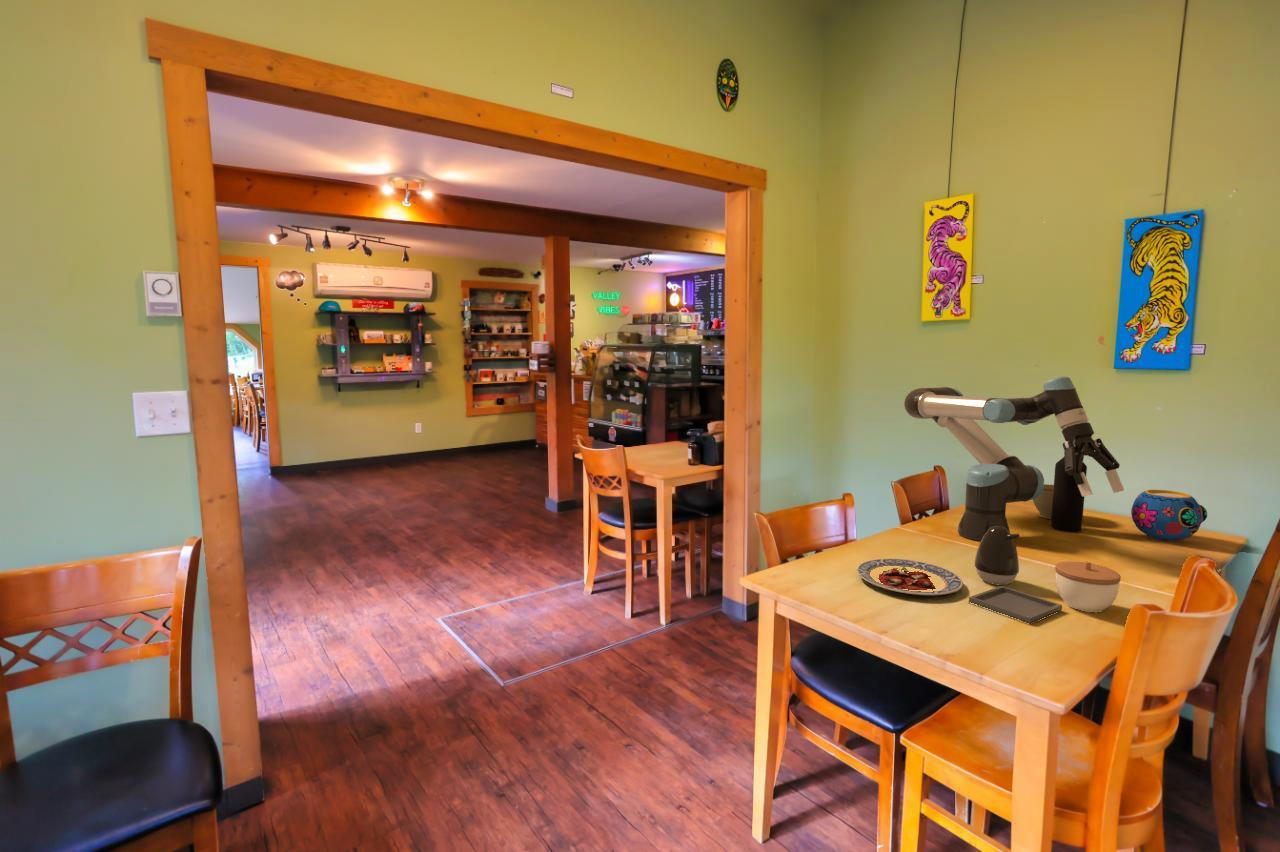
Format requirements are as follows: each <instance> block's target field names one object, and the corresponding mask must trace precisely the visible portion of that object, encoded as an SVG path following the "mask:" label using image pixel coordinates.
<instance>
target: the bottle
mask: <svg viewBox="0 0 1280 852" xmlns="http://www.w3.org/2000/svg"><path fill="white" fill-rule="evenodd" d="M1070 468H1071V467H1070ZM1087 471H1088V466H1087V464H1086V463H1084V461H1083V464H1082V469H1081V472H1080V473H1082V472H1084V474H1085V476H1086V477H1087V473H1088V472H1087ZM1053 477H1054V479H1053V485H1054V489H1053V501H1052V514H1051V519H1050V527H1051V528H1052V529H1054V530H1056V531H1060V532H1064V533H1065V532H1066V533H1081V531H1082V529H1083V519H1084V506H1085V496H1083V497H1082V495H1081V492H1080V490H1079V487H1078V485H1077V484H1076V481H1075V479H1074V476H1073V475H1071V476H1070V475H1068V473H1066V472H1065V456H1063V457H1062V458H1060V459H1059V460H1058V461H1057V462H1056V463H1055V467H1054V476H1053Z"/></svg>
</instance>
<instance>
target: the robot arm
mask: <svg viewBox="0 0 1280 852" xmlns="http://www.w3.org/2000/svg"><path fill="white" fill-rule="evenodd" d="M1071 379H1072V378H1071V377H1068V376H1058V377H1054V378H1051V379H1050V380H1049V379H1048V380H1047V381H1046V382H1044V383H1043V385H1042V386H1043V387H1042V388H1043V391H1042V392H1040V393H1038V394H1035V395H1033V396H1031V397H1016V398H1002V397H999V398H997V397H984V396H983V397H980V396H964V394H963V393H962V392H961V391H960V390H959V389H956V388H954V387H949V386H940V387H919V388H916V389H912V391H909V393H908V394H907V395H906V397H905V398H904V410H905V411H906V413H907V414H908V415H910V416H911V418H915V419H921V420H924V419H926V420H927V419H932V420H933V421H934V422H935V423H936V424H937V425H938V426H939V427H941V428H946V429H947V430H948V431H949V432H950V433H951V434H952V435H953V436H954V438H956V439H957V441H959V443H961V445H962V447H964V448H965V449H966V450H967V452H969V454H971V455H972V457H973V458H974V459H975V460H976V461H977V462H978V463H979V464H975V465H971V466H970V467H969V468H968V471H967V475H966V480H965V481H966V485H965V486H966V488H965V507H964V512H963V515H962V517H961V519H960V521H959V523H958V527H957V534H958V533H959V534H960V536H961V535H962V536H961V537H963V536H964V537H963V538H965V537H967V538H966V539H968V538H970V539H969V540H972V539H974V541H977V540H979V541H978V542H981V540H982V538H983V536H984V535H985V533H986V532H987V530H988V529H989V528H991V527H993V526H1002V527H1005V528H1006V529H1007V530H1008V531H1009V532H1010V533H1011V530H1010V527H1009V523H1008V520H1007V517H1006V509H1007V504H1009V503H1018V502H1023V503H1025V502H1029V501H1033V499H1035V498H1037V497H1038V496H1040V494H1041V493H1042V491H1043V489H1044V484H1045V477H1044V475H1043V473H1042V472H1041V470H1040V469H1039V468H1038V467H1037V466H1036V467H1035V466H1034V465H1029V464H1024V462H1023V461H1022V460H1020V459H1019V457H1017V456H1016V455H1009V454H1008V453H1007V452H1006V451H1005V450H1004V449H1003V448H1002V447H1001V446H1000V445H999V444H998V443H997V442H996V441H995V440H994V439H993V438H992V437H991V436H990V435H989V434H988V432H986V431H985V430H984V429H983V428H982V427H981V426H980V425H979V424H978V423H977V422H976V421H977V420H978V421H987V422H990V423H993V424H1005V423H1015V422H1017V423H1018V424H1021V425H1022V426H1027V425H1031V424H1035V423H1037V422H1039V421H1041V420H1043V419H1045V418H1048V417H1050V416H1052V415H1054V416H1055V418H1056V422H1057V424H1058V427H1059V428H1060V429H1061V433H1062V436H1063V438H1064V441H1065V442H1062V447H1063V451H1064V453H1063V454H1064V456H1065V472H1066V473H1068V475H1070V476H1071V475H1073V476H1074V479H1075V481H1076V484H1077V485H1078V487H1079V490H1080V492H1081V495H1082V497H1083V496H1084V497H1087V496H1091V495H1093V494H1094V493H1093V491H1092V489H1091V486H1090V484H1089V481H1088V479H1087V475H1086V476H1085V474H1084V472H1082V473H1080V472H1081V469H1082V464H1083V462H1084V458H1085V456H1088V457H1090V458H1092V459H1093V460H1095V462H1097V463H1098V465H1100V466H1101V467H1102V468H1103V469H1104V470H1105V472H1104V473H1105V475H1106V478H1107V480H1108V483H1109V485H1110V487H1111V490H1112V491H1113V493H1114V494H1115V493H1119V492H1123V491H1125V488H1124V486H1123V484H1122V481H1121V478H1120V476H1119V474H1118V472H1117V469H1120V463H1119V461H1117V459H1116V457H1114V456H1113V454H1112V453H1111V452H1110V451H1109V449H1108V448H1107V447H1106V446H1105V444H1104V442H1103V441H1102V439H1101V438H1096V439H1093V438H1092V437H1093V435H1094V434H1095V431H1094V429H1093V426H1092V425H1091V423H1090V422H1088V421H1089V418H1088V416H1087V413H1086V410H1085V409H1084V406H1083V405H1082V402H1081V399H1080V397H1079V394H1078V392H1077V388H1076V387H1075V385H1074V383H1073V381H1072V380H1071ZM975 420H976V421H975ZM1064 456H1063V457H1064ZM1070 467H1071V468H1070ZM959 534H958V535H959Z"/></svg>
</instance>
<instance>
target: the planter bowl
mask: <svg viewBox="0 0 1280 852" xmlns="http://www.w3.org/2000/svg"><path fill="white" fill-rule="evenodd" d="M1053 489H1054V484H1048V483H1047V484H1046V483H1044V489H1043V491H1042V493H1041V494H1040V496H1038V497H1037V498H1035V499H1033V500H1032V502H1033V504H1034V506H1035V508H1036V509H1037V511H1038V512H1039V517H1041V518H1043V519H1048V520H1051V514H1052V501H1053Z"/></svg>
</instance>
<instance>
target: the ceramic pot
mask: <svg viewBox="0 0 1280 852" xmlns="http://www.w3.org/2000/svg"><path fill="white" fill-rule="evenodd" d="M1130 510H1131V511H1130V513H1131V519H1132V521H1133V523H1134V524H1135V526H1136V528H1137V529H1138V530H1139V531H1140V532H1141V533H1143V534H1145V535H1147V536H1149V537H1152V538H1154V539H1156V540H1162V541H1171V542H1172V541H1181V540H1184V539H1189V538H1191V537H1192V536H1194V534H1195V533H1197V532H1198V531H1199V529H1200V527H1201V525H1202V524H1203V522H1205V521H1206V520H1207V518H1208V511H1207V509H1206V508H1205V506H1203V505H1201V504H1199V503H1198V501H1197V499H1196V498H1194V497H1193V495H1190V494H1188V493H1184V492H1179V491H1176V490H1175V491H1174V490H1167V489H1166V490H1165V489H1146V490H1144V491H1142V492H1140V493H1139V494H1138V496H1137V497H1135V499H1134V501H1133V504H1132V506H1131V509H1130Z"/></svg>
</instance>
